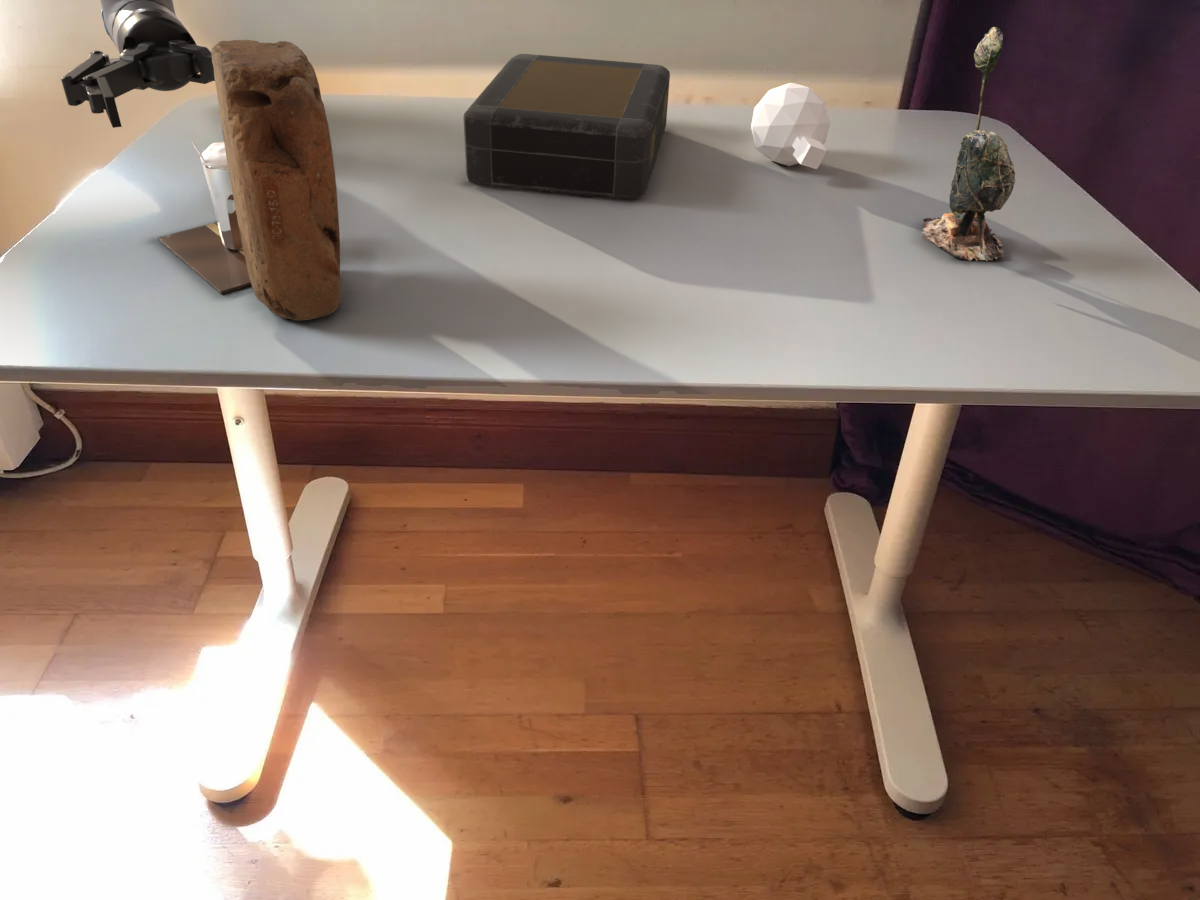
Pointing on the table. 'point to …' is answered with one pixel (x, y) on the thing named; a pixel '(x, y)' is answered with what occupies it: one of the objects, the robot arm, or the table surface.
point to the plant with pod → (976, 179)
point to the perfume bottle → (791, 126)
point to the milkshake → (221, 193)
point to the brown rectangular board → (210, 257)
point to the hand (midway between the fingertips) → (192, 104)
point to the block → (281, 175)
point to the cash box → (568, 126)
